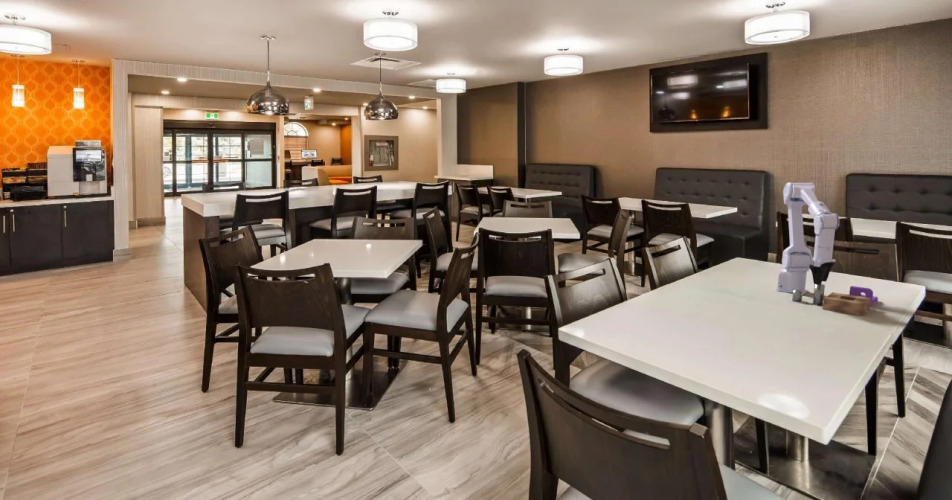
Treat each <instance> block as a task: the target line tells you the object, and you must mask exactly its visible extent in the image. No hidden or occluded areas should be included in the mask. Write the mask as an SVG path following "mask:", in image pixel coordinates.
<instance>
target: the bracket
mask: <svg viewBox="0 0 952 500" xmlns="http://www.w3.org/2000/svg"><path fill="white" fill-rule="evenodd" d="M848 293H849V294H848V295H854V296H861V297H868V298H871V303H870V308H871V307H873V306H874V305H875V304H876V303H877V302H878V300H879V297H878V296H875V295H874V291H873V289H872V288H869V287H862V286H861V287H860V286H854V285H850V287H849V292H848Z"/></svg>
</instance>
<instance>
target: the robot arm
mask: <svg viewBox="0 0 952 500" xmlns="http://www.w3.org/2000/svg"><path fill="white" fill-rule="evenodd" d="M782 191H783V193H782V194H783V203H784V205H786V206H787V213H788V215H787V217H788V231H789V232H788V233H789V245H788V247H786V248H785V249H784V250H783V251H782V256H781V257H782V258H781V265H782V268H780V270H779V272H778V278H777V279H778V281H777V289H776V291H777V292H783V293H791V294H793V290H801V291H803V295H804V294H806V293H807V292H809V289H806V283H807V275H808V273H807V272H809V271H810V272H811V276H812V282H813V285H814V286H815V285H821V284H823V282H824V283H825V282H827V281H828V278H829V275H830V272H831V270H832V268H833V267H834V266H835V262H836V261H837V260H836V259H834V258H833V251H834V243H835V233H836V231H837V229H838V228H839V226H840V218H839V215H838V213H833V212H831V211H830V209H829V208H828V207H827V205H826V204H825V202H823V201H820V200H819V199H818V197H817V195H816V185H815V184H814V183H813V182H811V181H809V182H790V181H789V182H787V183H785V185H784V187H783V190H782ZM805 205H807V206H808V208H807V211H808V212H809V213H808V214H810V216H811V218H812V219H813V227H814V234H815V241H814V251H813V254H812V250H811V249H810V248H808V247H807V245H805V238H804V237H805V236H804V221H803V207H804V206H805Z"/></svg>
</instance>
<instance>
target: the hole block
mask: <svg viewBox="0 0 952 500" xmlns="http://www.w3.org/2000/svg"><path fill="white" fill-rule="evenodd" d="M870 303H871V298H868V297H861V296H854V295H849V294H846V293H840V292H831V293H829V294H827V296H824V300H823V305H822V310H826V311H831V312H839V313H844V314H851V315H854V316H855V315H856V316H861V317H863V316H864V315H865V314H866V313H867V312H868V311H870V309H871V307H870Z"/></svg>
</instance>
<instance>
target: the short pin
mask: <svg viewBox="0 0 952 500" xmlns="http://www.w3.org/2000/svg"><path fill="white" fill-rule="evenodd" d="M803 295H804V294H803V291H801V290H793V293H792V299H791V300H792V302H794V303H802V302H803Z"/></svg>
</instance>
